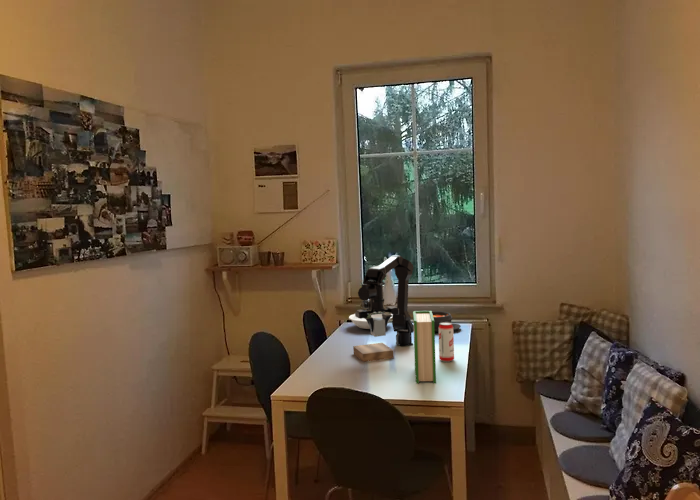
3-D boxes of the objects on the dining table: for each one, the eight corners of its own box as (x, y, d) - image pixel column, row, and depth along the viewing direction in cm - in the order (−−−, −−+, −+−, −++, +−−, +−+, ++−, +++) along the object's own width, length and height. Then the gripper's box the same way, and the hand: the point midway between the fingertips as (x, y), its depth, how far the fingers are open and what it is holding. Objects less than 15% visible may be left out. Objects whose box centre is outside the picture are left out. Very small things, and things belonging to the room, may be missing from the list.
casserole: (462, 326, 301) (461, 310, 301) (459, 334, 284) (458, 318, 283) (415, 325, 308) (415, 310, 307) (409, 333, 290) (409, 317, 290)
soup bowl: (365, 321, 322) (365, 310, 322) (402, 325, 308) (401, 313, 308) (340, 330, 303) (339, 318, 302) (378, 335, 289) (377, 322, 288)
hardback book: (436, 383, 213) (434, 320, 211) (416, 383, 214) (414, 320, 211) (433, 368, 230) (431, 310, 228) (414, 369, 231) (413, 311, 229)
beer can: (455, 358, 243) (454, 322, 242) (453, 362, 237) (452, 325, 236) (440, 357, 245) (439, 321, 244) (438, 362, 239) (437, 324, 238)
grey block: (381, 332, 253) (380, 317, 252) (385, 335, 248) (384, 319, 248) (370, 334, 252) (370, 318, 251) (374, 336, 247) (374, 320, 246)
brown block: (382, 351, 261) (382, 342, 261) (393, 359, 248) (393, 350, 248) (353, 354, 257) (353, 346, 257) (363, 363, 244) (363, 354, 244)
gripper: (389, 291, 259) (390, 325, 260) (350, 295, 253) (351, 330, 255) (398, 295, 248) (400, 330, 250) (358, 299, 242) (360, 335, 244)
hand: (377, 331), depth 250 cm, fingers closed on grey block, 5 cm apart
